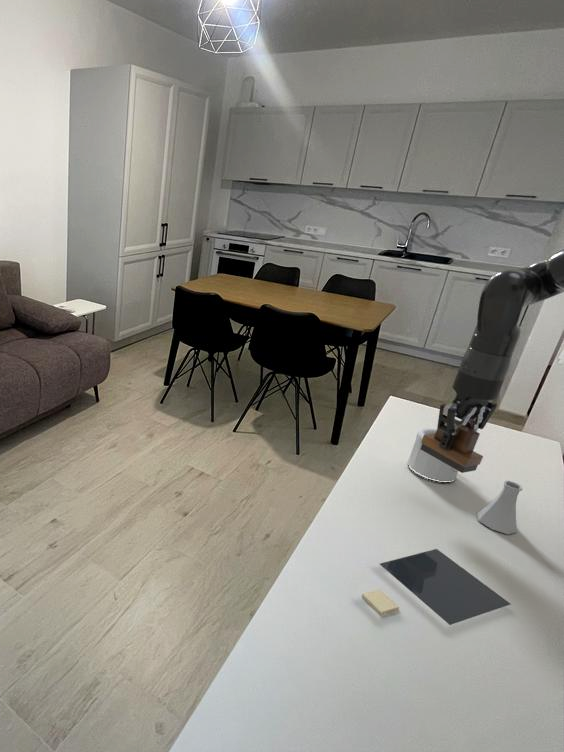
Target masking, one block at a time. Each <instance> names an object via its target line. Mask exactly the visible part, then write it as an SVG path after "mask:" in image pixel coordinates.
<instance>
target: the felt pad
mask: <svg viewBox="0 0 564 752" xmlns="http://www.w3.org/2000/svg"><path fill="white" fill-rule="evenodd" d="M361 598H362V599H363V600H364V601H365V602H366V603H368V604H369V605H370V606H371V607H372V608H373V609H374V610H375V611H376V613H378V614H379V615H381V616H382V615H384V614H388V613H392V612H395V611H398V610H399V609H400V606H399V605H398V604H397V603H396V602H395V601H393V599H391V598H390V596H388V595H387V593H385V592H384V591H383V590H382V589H380V588H378V589H375V590H372V591H368V592H364V593H362V594H361Z"/></svg>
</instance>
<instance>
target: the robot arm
mask: <svg viewBox="0 0 564 752" xmlns="http://www.w3.org/2000/svg"><path fill="white" fill-rule="evenodd" d="M560 294H564V248H563V249H560V250H559V251H557V252H555V253H553V254H552V255H550V256H549V257H548V258H546V259H544V260H541V261H538V262H536V263H533V264H530V265H528V266H524V267H522V268H518V269H505V270H502V271H498V272H496V273H495V274H493V275H492V276H491V277H490V278H489V279H488V280H487V281H486V283H485V285H484V286H483V287H482V291H481V293H480V297H479V303H478V310H477V317H476V318H477V319H476V320H477V321H476V326H475V329H474V330H473V333H472V336H471V339H470V341H469V344H468V346H467V349H466V351H465V352H464V353H463V354H464V355H463V356H462V359H461V362H460V364H459V367H458V370H457V373H456V376H455V378H454V380H453V384H452V389H453V390H454V392H455V393H456V395H455V397H454V398H453V400H452V401H451V403H449V404H446V403H441V405H439V413H438V419H437V425H436V426H437V427H436V429H437V428H438V429H440V430H442V431H444V433H443V436H442V438H441V441H440V444H439V447H440V448H442V449H444V450H446V451H450V450H451V449H452V447H453V444H454V441H455V439H456V435H457V434H458V432H459V430H460V429H461V427H464V426H465V427H467V428H469V429H471V430H473V431H476V432H478V430H479V429H480V430H484V428H485V427H486V425H487V424H488V422H489V420H490V419H491V416H492V415H493V414H494V411H495V410H496V408H497V406H498V404H497V403H495V402H494V401H495V400H497V399H498V396H499V395H500V391H501V389H502V387H503V384H504V382H505V380H506V377H507V374H508V372H509V369H510V366H511V362H512V358H513V355H514V352H515V350H516V347H517V345H518V343H519V339H520V337H521V332H522V328H521V326H519V320H520V317H521V314H522V310H523V308H524V307H525V308H526V307H528V306H531V305H535V304H537V303H540V302H543V301H546V300H548V299H551V298H553V297H555V296H557V295H560ZM456 418H457V419H456ZM458 419H459V420H458ZM444 422H445V425H444ZM454 423H455V424H456V426H455V428H454V429H453V426H454Z"/></svg>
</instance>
